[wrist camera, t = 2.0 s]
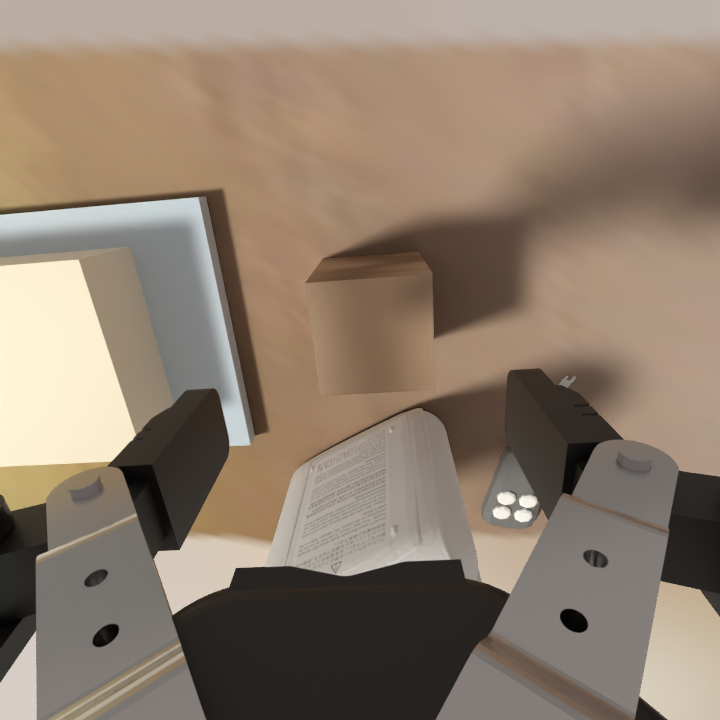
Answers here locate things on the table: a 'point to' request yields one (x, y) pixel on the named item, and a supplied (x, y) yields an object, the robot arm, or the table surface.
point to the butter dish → (110, 328)
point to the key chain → (512, 492)
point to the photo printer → (377, 503)
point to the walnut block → (372, 323)
